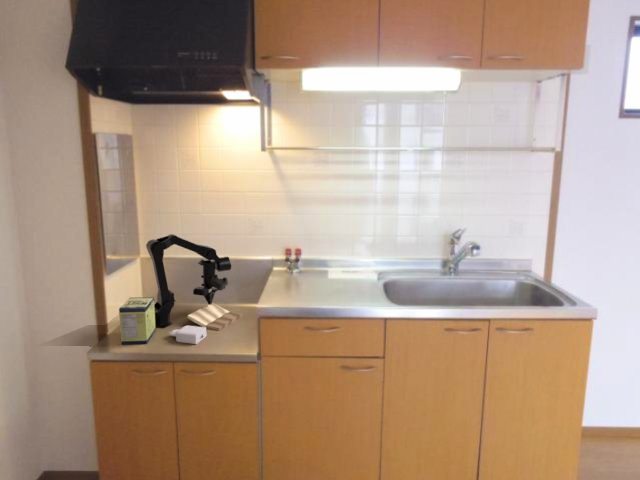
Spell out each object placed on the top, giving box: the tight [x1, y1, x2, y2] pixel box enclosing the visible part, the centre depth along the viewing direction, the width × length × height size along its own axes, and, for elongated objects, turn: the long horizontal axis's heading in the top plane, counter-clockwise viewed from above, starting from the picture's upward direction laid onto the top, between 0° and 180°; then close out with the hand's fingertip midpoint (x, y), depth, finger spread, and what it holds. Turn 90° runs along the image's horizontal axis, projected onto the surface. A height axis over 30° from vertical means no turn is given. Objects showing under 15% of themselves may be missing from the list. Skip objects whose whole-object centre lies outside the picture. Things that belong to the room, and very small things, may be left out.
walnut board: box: [206, 311, 243, 332], centre depth 216 cm, size 20×7×2 cm, turn 160°
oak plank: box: [186, 302, 230, 327], centre depth 218 cm, size 20×10×2 cm, turn 160°
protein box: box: [118, 296, 156, 345], centre depth 196 cm, size 10×16×16 cm
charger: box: [167, 325, 207, 345], centre depth 196 cm, size 5×9×15 cm
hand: (210, 304), depth 223 cm, fingers closed
